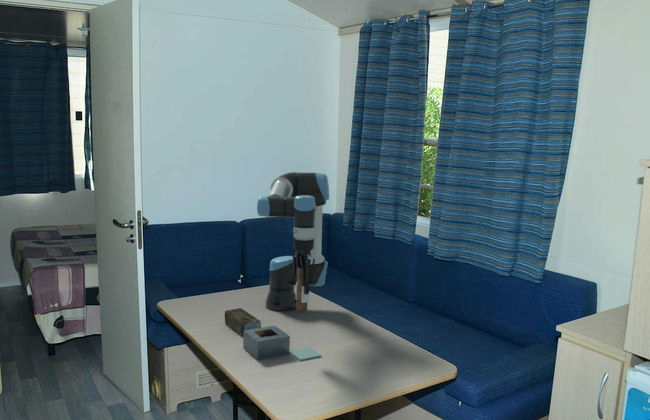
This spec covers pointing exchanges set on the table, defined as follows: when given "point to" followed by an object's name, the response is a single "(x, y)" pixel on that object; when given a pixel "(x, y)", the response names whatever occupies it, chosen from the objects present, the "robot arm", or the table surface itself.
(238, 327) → the beverage carton
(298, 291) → the brown rounded rod
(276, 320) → the table surface
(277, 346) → the box
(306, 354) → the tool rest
